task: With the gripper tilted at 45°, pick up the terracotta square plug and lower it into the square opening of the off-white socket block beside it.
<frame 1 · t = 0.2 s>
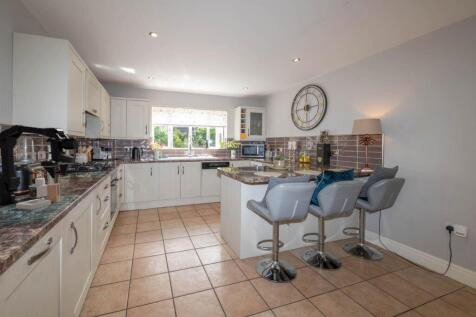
hand: (59, 177, 129), 15 cm above the countertop, tool pointing down, fingers open, 9 cm apart
plug: (54, 200, 133), on the countertop
printed box: (39, 196, 143), on the countertop
socket block: (34, 206, 122), on the countertop
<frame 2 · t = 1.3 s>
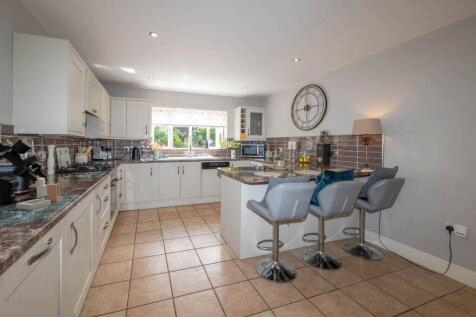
hand: (41, 179, 131), 13 cm above the countertop, tool tilted 45°, fingers open, 9 cm apart
nothing on the countertop moved.
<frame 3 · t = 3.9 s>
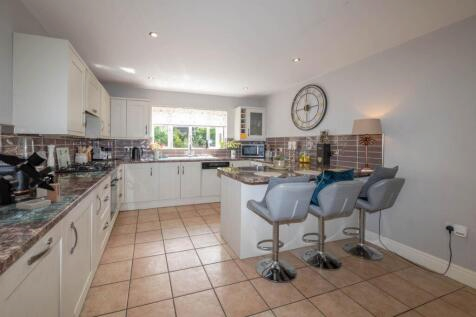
hand: (56, 189, 133), 7 cm above the countertop, tool tilted 45°, fingers closed on plug, 4 cm apart
plug: (54, 200, 133), on the countertop, touching gripper
everything else where it was.
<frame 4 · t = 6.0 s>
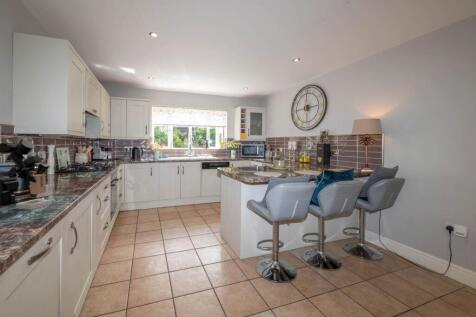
hand: (40, 181, 123), 13 cm above the countertop, tool tilted 45°, fingers closed on plug, 4 cm apart
plug: (38, 193, 124), point 7 cm above the countertop, touching gripper
everything else where it was.
when the fingers open (7 cm above the countertop, at t = 8.0 s): plug stays where it is, resting in socket block.
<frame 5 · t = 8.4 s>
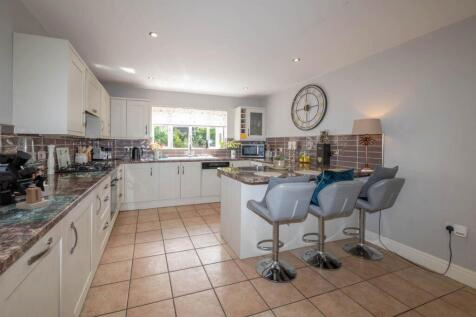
hand: (35, 192, 121), 8 cm above the countertop, tool tilted 45°, fingers open, 8 cm apart
plug: (34, 206, 122), resting in socket block
everything else where it was.
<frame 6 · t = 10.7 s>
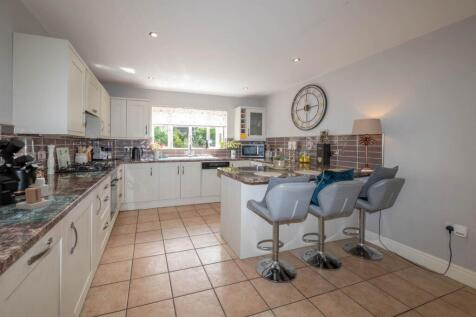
hand: (27, 180, 123), 14 cm above the countertop, tool tilted 40°, fingers open, 9 cm apart
nothing on the countertop moved.
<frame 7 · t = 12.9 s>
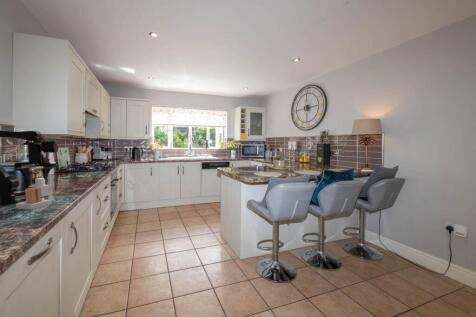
hand: (36, 179, 130), 13 cm above the countertop, tool pointing down, fingers open, 9 cm apart
nothing on the countertop moved.
at the end: plug 0.0 cm off-centre on the socket block, point 0.0 cm above the socket block's base; plug tilted 0°; the gripper is holding nothing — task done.
